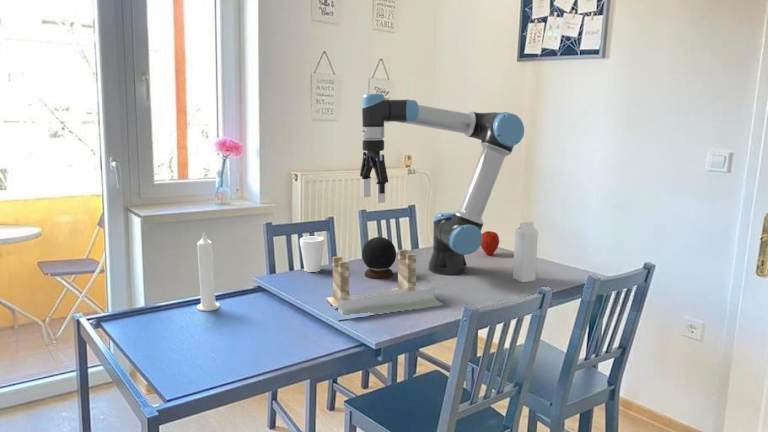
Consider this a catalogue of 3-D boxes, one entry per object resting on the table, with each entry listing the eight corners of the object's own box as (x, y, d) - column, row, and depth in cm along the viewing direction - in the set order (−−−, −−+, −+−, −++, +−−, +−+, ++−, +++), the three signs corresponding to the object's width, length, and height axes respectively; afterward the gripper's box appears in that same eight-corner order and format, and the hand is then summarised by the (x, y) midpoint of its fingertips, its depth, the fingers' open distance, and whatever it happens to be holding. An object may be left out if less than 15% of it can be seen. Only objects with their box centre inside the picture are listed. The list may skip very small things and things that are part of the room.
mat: (431, 297, 195) (431, 296, 195) (442, 305, 188) (442, 303, 188) (330, 312, 181) (330, 311, 181) (338, 321, 174) (338, 319, 174)
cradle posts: (411, 288, 205) (411, 248, 202) (422, 296, 197) (423, 254, 194) (325, 300, 192) (324, 257, 190) (333, 309, 184) (333, 264, 181)
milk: (535, 280, 214) (538, 223, 210) (522, 282, 212) (525, 224, 208) (525, 276, 220) (528, 220, 215) (512, 278, 217) (515, 221, 213)
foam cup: (320, 274, 222) (319, 242, 220) (297, 273, 224) (296, 241, 222) (327, 268, 231) (326, 236, 229) (305, 266, 233) (304, 235, 231)
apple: (476, 252, 255) (477, 229, 253) (495, 252, 256) (496, 228, 254) (482, 257, 247) (482, 233, 245) (501, 257, 248) (502, 232, 246)
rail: (428, 298, 192) (429, 284, 191) (434, 302, 189) (434, 288, 188) (338, 312, 180) (338, 297, 179) (342, 316, 176) (342, 300, 176)
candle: (199, 304, 189) (195, 230, 184) (221, 303, 190) (217, 229, 185) (194, 311, 182) (189, 235, 177) (217, 311, 183) (212, 234, 178)
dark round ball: (367, 281, 213) (367, 242, 211) (358, 272, 226) (357, 234, 223) (401, 278, 218) (401, 239, 215) (389, 269, 230) (389, 232, 227)
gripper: (350, 137, 208) (351, 195, 212) (377, 141, 185) (377, 205, 189) (370, 137, 211) (370, 194, 215) (398, 140, 188) (397, 204, 192)
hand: (373, 199), depth 202 cm, fingers open, 13 cm apart
